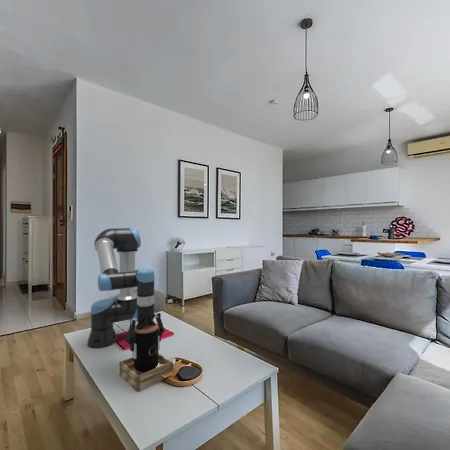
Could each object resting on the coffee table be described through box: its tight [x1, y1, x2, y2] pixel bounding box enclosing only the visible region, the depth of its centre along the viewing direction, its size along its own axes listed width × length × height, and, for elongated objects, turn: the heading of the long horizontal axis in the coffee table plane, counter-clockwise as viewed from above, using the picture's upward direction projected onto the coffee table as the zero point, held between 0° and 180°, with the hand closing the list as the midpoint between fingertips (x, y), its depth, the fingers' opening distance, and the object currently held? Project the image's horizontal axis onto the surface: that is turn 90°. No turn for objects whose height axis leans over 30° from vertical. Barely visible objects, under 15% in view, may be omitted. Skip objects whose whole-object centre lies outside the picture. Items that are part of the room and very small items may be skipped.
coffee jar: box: [133, 322, 159, 372], centre depth 124 cm, size 11×11×18 cm
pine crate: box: [118, 352, 174, 392], centre depth 125 cm, size 17×17×6 cm
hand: (146, 353), depth 124 cm, fingers closed on coffee jar, 11 cm apart
